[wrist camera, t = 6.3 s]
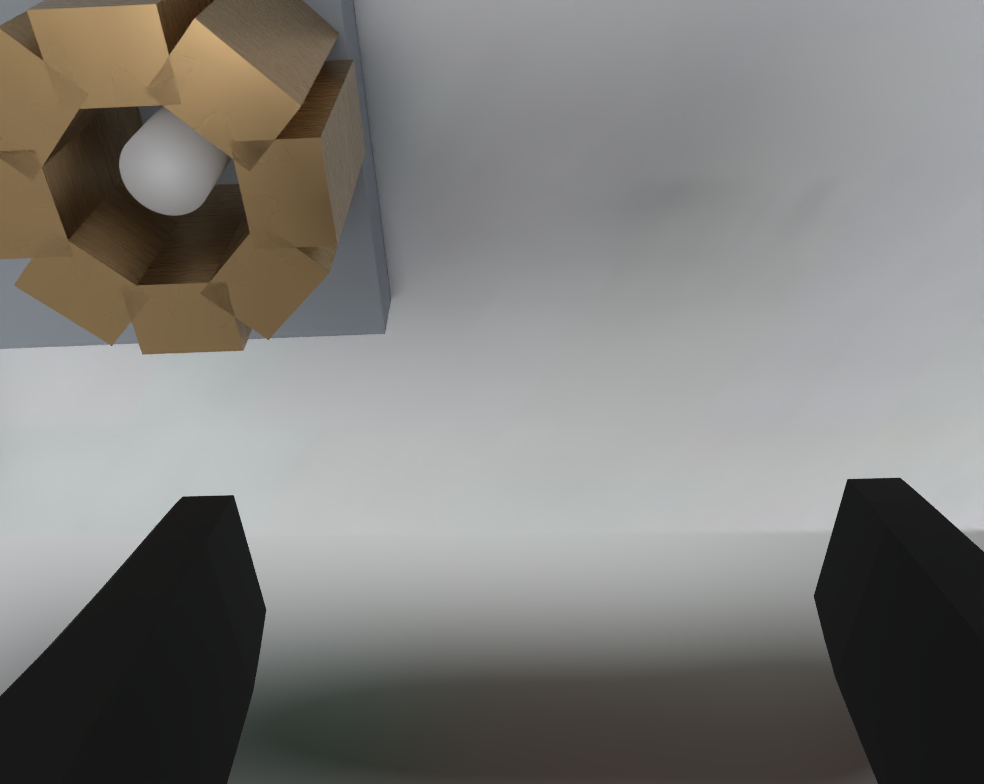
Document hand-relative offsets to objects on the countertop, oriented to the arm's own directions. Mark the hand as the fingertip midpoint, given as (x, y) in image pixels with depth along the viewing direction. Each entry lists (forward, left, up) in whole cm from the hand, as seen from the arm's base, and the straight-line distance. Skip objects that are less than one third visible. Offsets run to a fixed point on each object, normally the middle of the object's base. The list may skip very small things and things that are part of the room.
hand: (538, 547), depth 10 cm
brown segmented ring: (+6, -3, -9) cm, 11 cm away
